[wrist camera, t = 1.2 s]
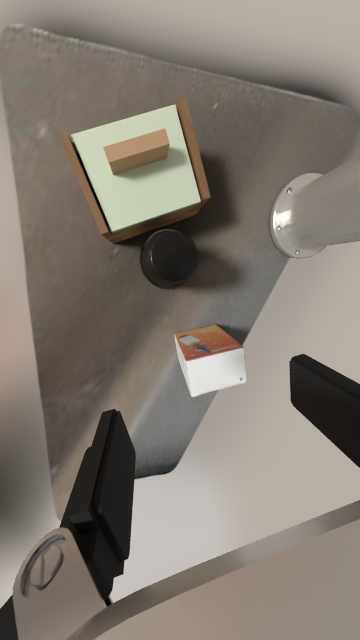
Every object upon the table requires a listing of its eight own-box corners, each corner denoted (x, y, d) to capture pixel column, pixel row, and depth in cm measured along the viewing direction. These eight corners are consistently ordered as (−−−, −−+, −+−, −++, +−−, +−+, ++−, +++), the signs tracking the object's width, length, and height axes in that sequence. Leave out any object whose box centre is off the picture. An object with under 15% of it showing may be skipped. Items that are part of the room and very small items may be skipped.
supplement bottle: (181, 287, 31) (202, 297, 19) (139, 283, 29) (135, 290, 18) (186, 243, 29) (213, 226, 18) (142, 236, 28) (140, 212, 16)
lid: (173, 110, 19) (179, 81, 16) (198, 203, 22) (207, 192, 19) (74, 140, 19) (60, 114, 15) (113, 232, 21) (107, 226, 18)
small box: (216, 323, 33) (246, 346, 23) (219, 351, 35) (248, 383, 25) (173, 332, 32) (185, 360, 22) (178, 361, 34) (191, 398, 24)
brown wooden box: (174, 145, 25) (185, 97, 18) (194, 215, 28) (210, 197, 21) (83, 174, 24) (58, 134, 17) (112, 243, 27) (101, 234, 20)
